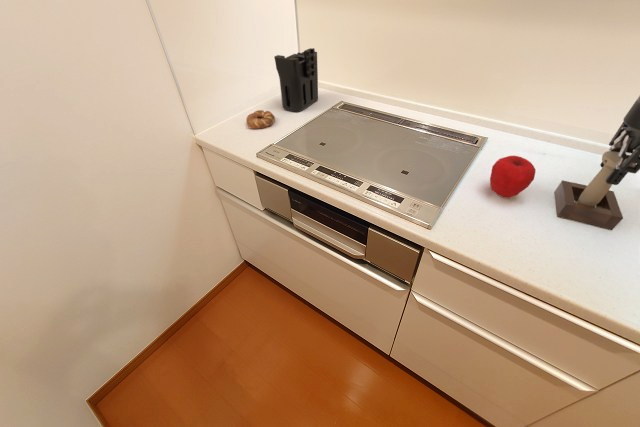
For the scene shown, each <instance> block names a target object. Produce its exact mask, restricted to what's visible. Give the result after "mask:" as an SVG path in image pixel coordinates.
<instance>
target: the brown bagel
mask: <svg viewBox="0 0 640 427" xmlns="http://www.w3.org/2000/svg"><path fill="white" fill-rule="evenodd" d="M245 120H246V121H245V122H246V125H247V127H248V128H249V129H252V130H257V129H265V128H267V127H271V126H272V125H273V124H274V123H275V121H276V116H275V115H274V114H273V113H272V112H271V111H269V110H265V111H264V110H263V109H260V110H259V109H258V110H255V111H253V112H252V113H250V114H248V115H247V116H246V119H245Z"/></svg>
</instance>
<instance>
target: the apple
mask: <svg viewBox="0 0 640 427" xmlns="http://www.w3.org/2000/svg"><path fill="white" fill-rule="evenodd" d="M535 176H536V168H535V166H534V164H533V163H532V161H529V160H528V159H527V158H524V157H522V156H518V155H509V156H503V157H500V158H498V160H496V161H495V163H494V164H493V165H492V166H491V173H490V176H489V185H490V190H491V191H493V193H494V194H496V195H497V196H499V197H501V198H504V199H505V198H507V199H509V198H514V197H517V196H518V195H519V194H521V193H522V192H523V191H524V190H527V188H528V187H529V186H530V185H531V184H532V183H533V181H534V180H535Z"/></svg>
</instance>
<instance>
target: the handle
mask: <svg viewBox="0 0 640 427" xmlns="http://www.w3.org/2000/svg"><path fill="white" fill-rule="evenodd" d="M619 153H620V152H615V151H609V150H607V151H605V152H604V153H603V154H602V155H601V156H602V157H601V163H602V162H603V164H604V166H603V168H602V167H601V169H599V171H598V172H597V173H596V175H595V176H594V177H593V179H591V181H590V182H589V183H588V184H587V187H586V188H585V189H584V191H583V192H582V194H581V195H580V197H579V199H578V201H576V203H581V204H585V205H589V206H593V207H596V205H597V204H598V203H599V202H600V201H601V200H602V198H603V197H604V196H605V195H606V193H607V192H608V190H610V189H611V187H612V186H613V184H608V183H606V179H607V177H608V176H609V175H610V173H611V172H612V171H613V170H614V168H615V167H616V165H617V163H618V161H619V159H620V158H619V157H618V155H619ZM626 160H627V159H625V161H626ZM625 161H624V162H625Z"/></svg>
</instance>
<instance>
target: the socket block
mask: <svg viewBox="0 0 640 427" xmlns="http://www.w3.org/2000/svg"><path fill="white" fill-rule="evenodd" d="M587 186H588V184H581V183H577V182H574V181H573V182H572V181H567V180H564V179H563V180H562V179H561V181H560V182H559V184H558V185H557V187H556V189H555V190H554V200H555V209H556V210H555V211H556V217H557V218H560V219H563V220H564V219H565V220H568V221H573V222H576V223H581V224H584V225H588V226H593V227H597V228H599V229H604V230H609V231H613V230H614V229H615V228H616V227H617V226H618V224H620V222H622V220H623V219H624V217H623V213H622V211H621V209H620V205H619V203H618V199H617V196H616V195H615V194H616V193H615V191H614V190H610V189H609V190H608V192H607V193H606V195H605V196H604V197H603V198H602V200H601V201H600V202H599V203H598V204H597V205H596V206H595V207H593V206H589V205H585V204H581V203H577V201H578V199H579V197H580V195H581V194H582V192H583V191H584V189H585V188H586V187H587Z"/></svg>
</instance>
